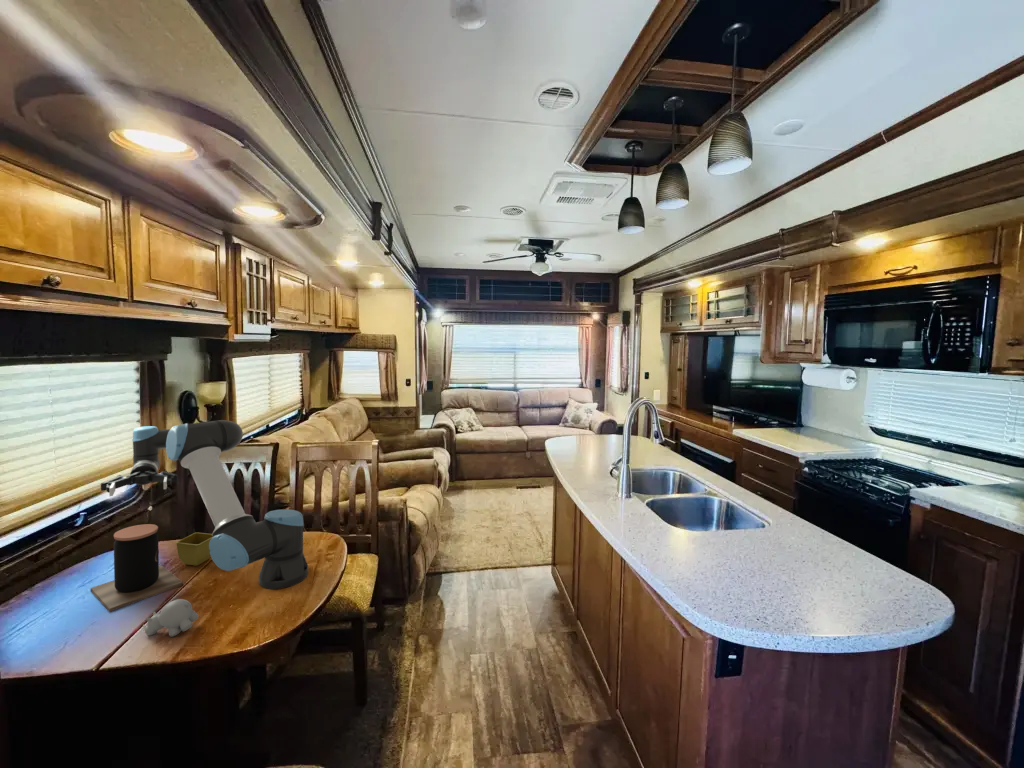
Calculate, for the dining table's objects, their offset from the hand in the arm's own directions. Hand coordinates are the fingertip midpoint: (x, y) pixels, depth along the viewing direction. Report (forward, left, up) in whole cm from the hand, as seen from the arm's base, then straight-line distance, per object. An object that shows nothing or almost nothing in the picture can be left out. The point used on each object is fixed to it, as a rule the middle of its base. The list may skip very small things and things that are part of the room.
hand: (138, 488), depth 141 cm
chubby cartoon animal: (-42, +6, -30) cm, 52 cm away
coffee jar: (-9, +3, -29) cm, 31 cm away
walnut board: (-9, +3, -30) cm, 32 cm away
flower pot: (-5, -15, -30) cm, 34 cm away
